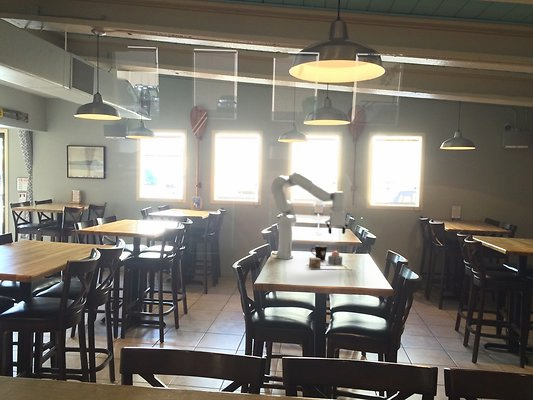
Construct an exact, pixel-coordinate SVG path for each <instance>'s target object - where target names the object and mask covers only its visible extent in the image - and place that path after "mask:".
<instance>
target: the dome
mask: <svg viewBox="0 0 533 400" xmlns="http://www.w3.org/2000/svg"><path fill="white" fill-rule="evenodd" d="M331 255H332V257H339V256H340V253H339V252H338V251H337V250H334V251H332V253H331Z"/></svg>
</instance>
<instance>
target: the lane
mask: <svg viewBox="0 0 533 400" xmlns="http://www.w3.org/2000/svg"><path fill="white" fill-rule="evenodd" d="M327 266H332V267H333V266H335V267H336V266H338V267H340V266H343V267H344V268H310V270H313V271H315V270H317V271H318V270H319V271H321V270H322V271H323V270H325V271H326V270H327V271H340V270H341V271H352V269H351V268H350V267H348V266H347V265H345V264H341V265H333V264H327Z"/></svg>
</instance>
